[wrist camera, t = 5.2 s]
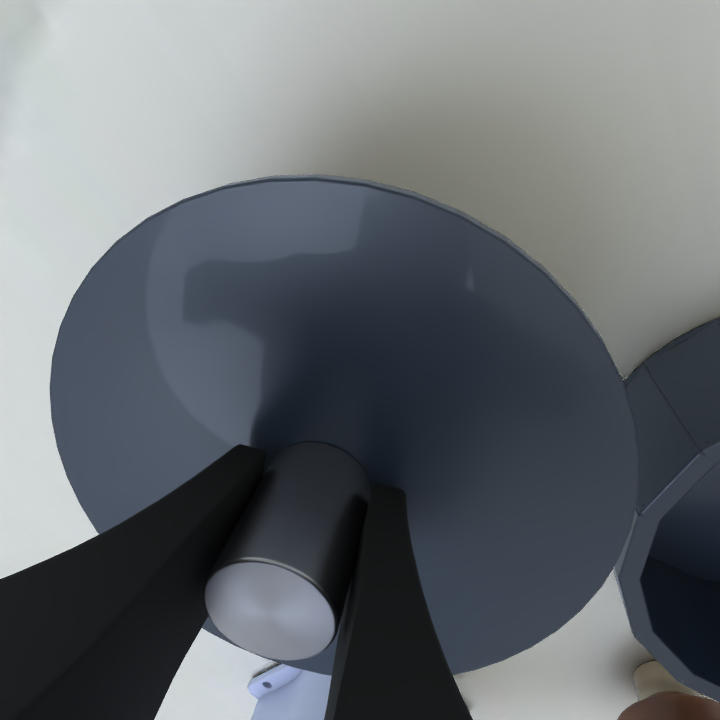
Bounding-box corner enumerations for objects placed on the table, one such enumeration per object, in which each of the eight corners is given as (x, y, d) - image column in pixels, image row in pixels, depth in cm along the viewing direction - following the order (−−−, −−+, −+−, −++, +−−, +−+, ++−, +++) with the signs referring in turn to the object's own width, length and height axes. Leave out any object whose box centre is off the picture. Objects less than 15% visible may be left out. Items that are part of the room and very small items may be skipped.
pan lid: (331, 698, 17) (288, 879, 13) (-7, 413, 15) (-188, 530, 11) (753, 512, 12) (901, 729, 8) (329, -3, 9) (215, -86, 5)
